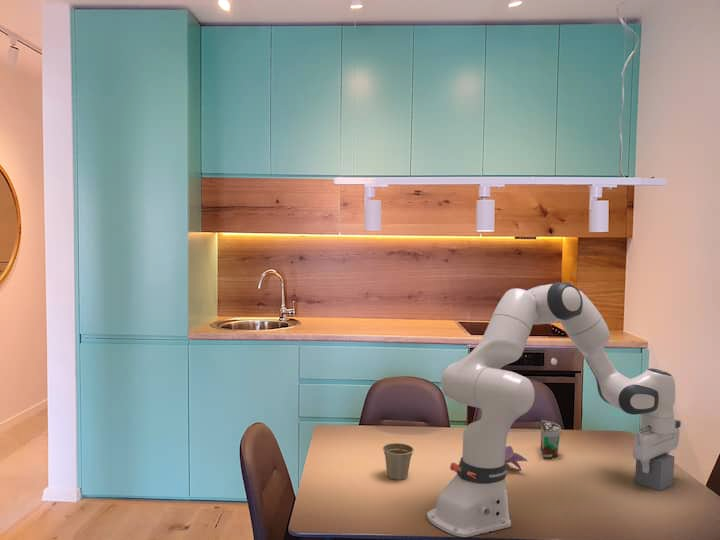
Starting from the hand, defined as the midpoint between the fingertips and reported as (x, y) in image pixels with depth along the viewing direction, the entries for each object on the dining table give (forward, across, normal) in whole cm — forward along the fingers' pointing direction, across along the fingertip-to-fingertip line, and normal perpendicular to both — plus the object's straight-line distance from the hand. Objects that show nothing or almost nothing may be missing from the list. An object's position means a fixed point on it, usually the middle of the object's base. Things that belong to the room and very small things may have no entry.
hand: (654, 468), depth 180 cm
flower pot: (+5, -61, +47) cm, 77 cm away
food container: (+5, -6, +32) cm, 33 cm away
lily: (+5, -28, +32) cm, 43 cm away
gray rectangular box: (+5, 0, 0) cm, 5 cm away
